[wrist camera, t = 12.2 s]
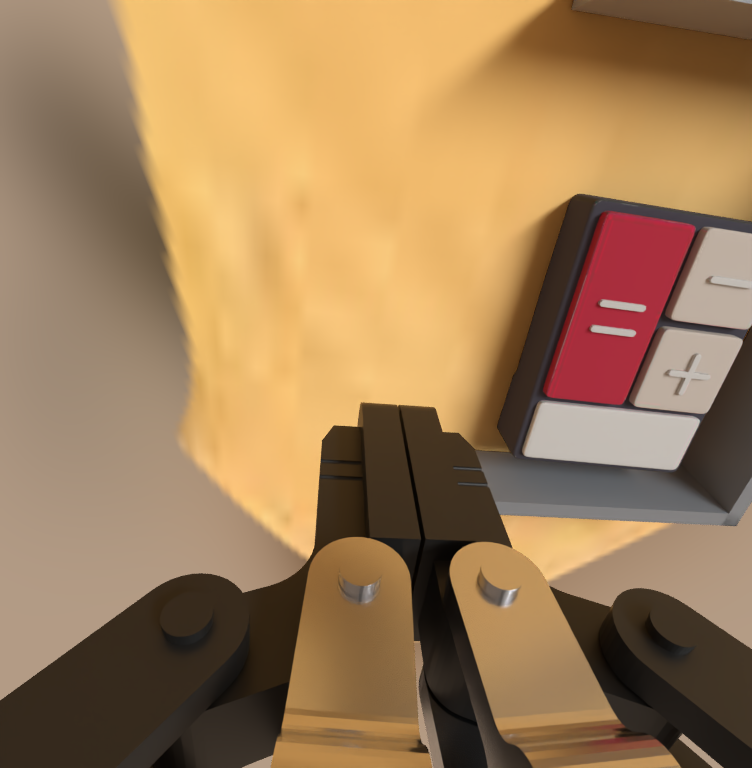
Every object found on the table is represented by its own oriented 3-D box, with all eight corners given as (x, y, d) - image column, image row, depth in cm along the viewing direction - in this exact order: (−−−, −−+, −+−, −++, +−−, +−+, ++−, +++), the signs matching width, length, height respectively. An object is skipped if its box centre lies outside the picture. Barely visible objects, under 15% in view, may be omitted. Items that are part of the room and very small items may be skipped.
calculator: (813, 232, 24) (684, 482, 30) (746, 220, 27) (645, 443, 34) (603, 198, 22) (515, 467, 29) (564, 190, 26) (494, 429, 32)
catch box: (578, -20, 21) (640, -55, 17) (920, 41, 23) (1058, 23, 18) (458, 461, 33) (475, 513, 29) (687, 475, 35) (736, 526, 31)
